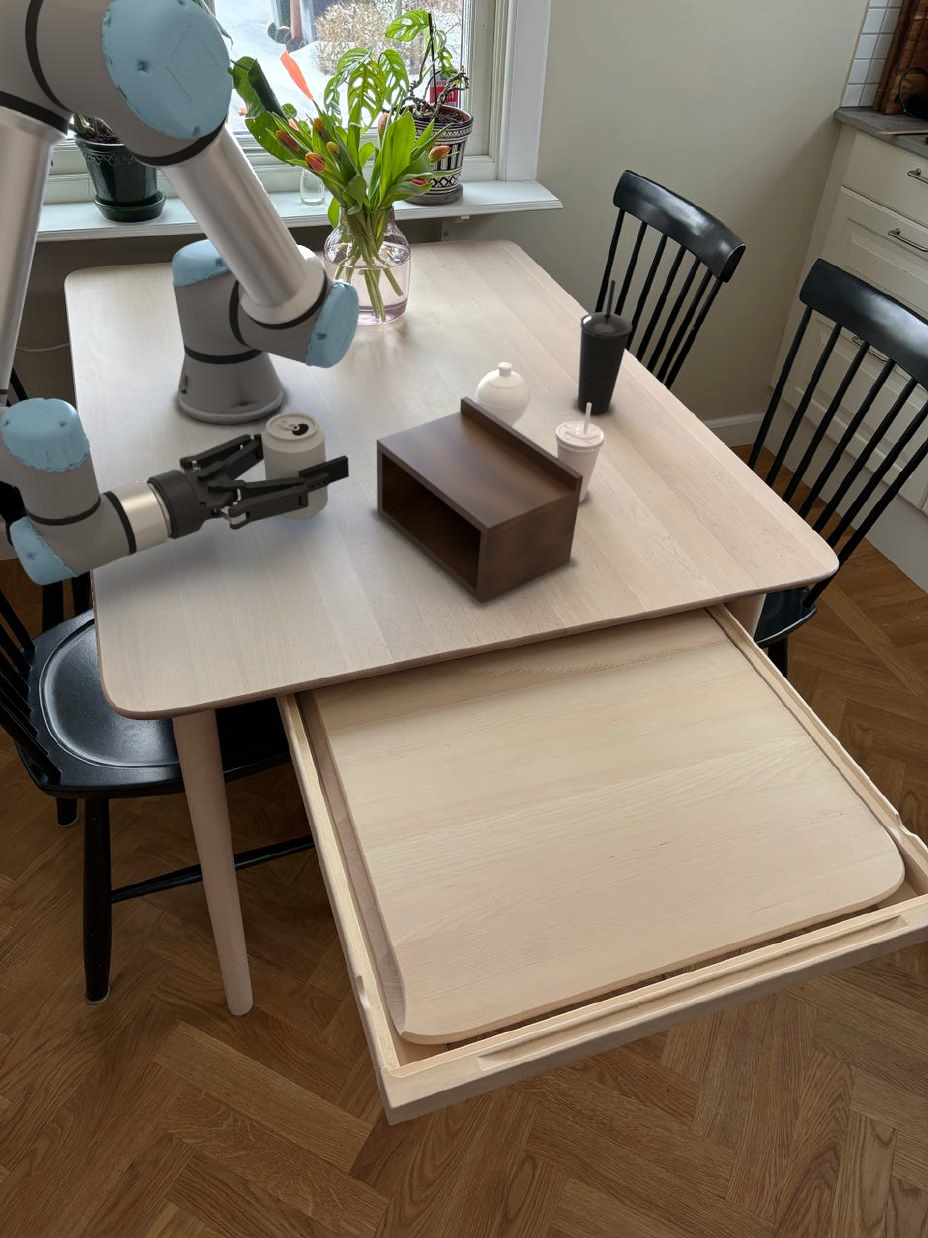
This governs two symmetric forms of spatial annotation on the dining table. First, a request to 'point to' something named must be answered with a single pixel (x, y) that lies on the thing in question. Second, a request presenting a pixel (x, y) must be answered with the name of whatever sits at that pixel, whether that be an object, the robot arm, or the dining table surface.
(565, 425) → the smoothie
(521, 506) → the shelf
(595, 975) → the dining table surface
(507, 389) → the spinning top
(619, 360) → the drinking cup
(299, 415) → the can
